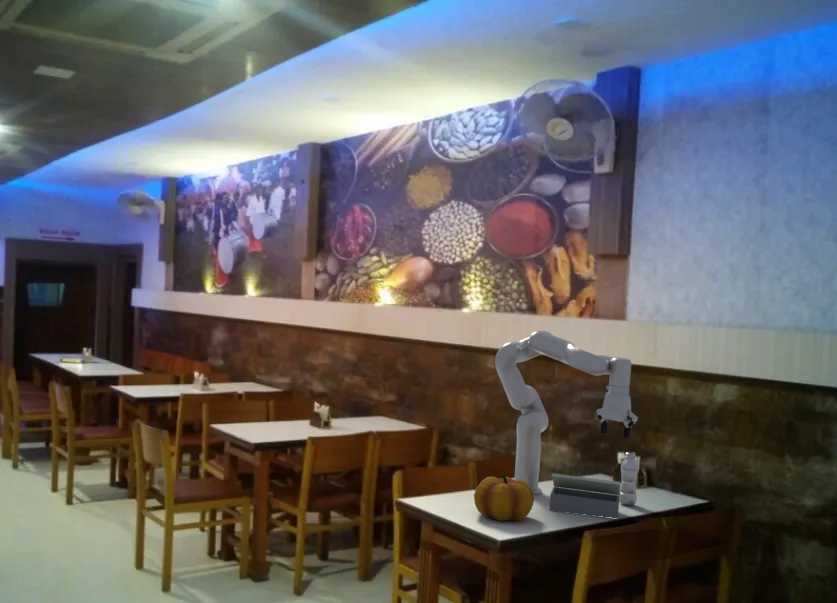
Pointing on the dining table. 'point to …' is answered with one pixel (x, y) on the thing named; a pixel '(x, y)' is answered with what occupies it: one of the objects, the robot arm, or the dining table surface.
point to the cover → (586, 484)
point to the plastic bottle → (628, 480)
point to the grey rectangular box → (584, 502)
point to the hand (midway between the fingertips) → (614, 435)
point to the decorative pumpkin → (504, 498)
